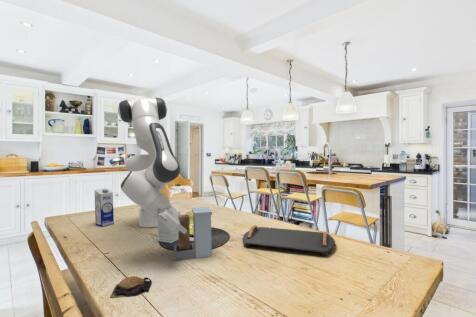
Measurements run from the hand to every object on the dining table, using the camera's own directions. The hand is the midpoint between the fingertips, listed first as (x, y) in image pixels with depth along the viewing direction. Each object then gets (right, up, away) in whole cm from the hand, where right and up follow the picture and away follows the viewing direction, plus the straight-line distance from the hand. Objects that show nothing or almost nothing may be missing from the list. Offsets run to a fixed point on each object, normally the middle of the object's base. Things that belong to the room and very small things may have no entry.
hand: (185, 229), depth 99 cm
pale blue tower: (+3, -10, +1) cm, 10 cm away
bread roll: (-11, -12, -23) cm, 28 cm away
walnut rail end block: (-1, -7, 0) cm, 7 cm away
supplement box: (-11, -10, +18) cm, 23 cm away
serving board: (+42, -10, +12) cm, 44 cm away
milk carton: (-54, -10, +44) cm, 71 cm away
